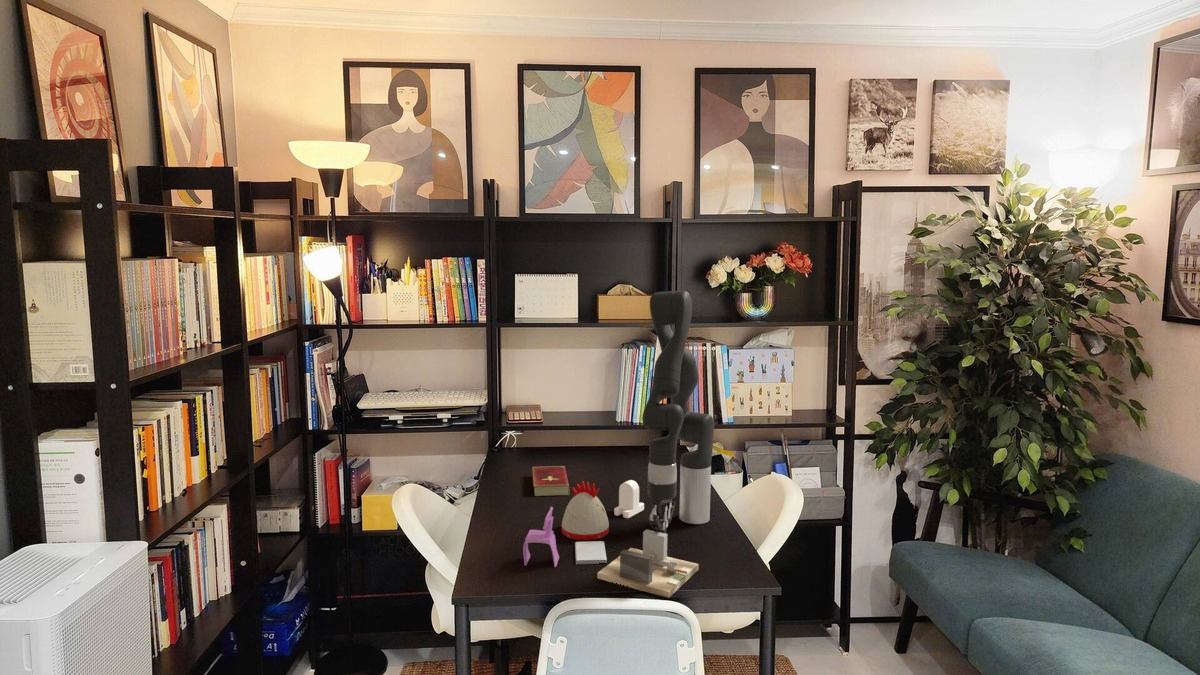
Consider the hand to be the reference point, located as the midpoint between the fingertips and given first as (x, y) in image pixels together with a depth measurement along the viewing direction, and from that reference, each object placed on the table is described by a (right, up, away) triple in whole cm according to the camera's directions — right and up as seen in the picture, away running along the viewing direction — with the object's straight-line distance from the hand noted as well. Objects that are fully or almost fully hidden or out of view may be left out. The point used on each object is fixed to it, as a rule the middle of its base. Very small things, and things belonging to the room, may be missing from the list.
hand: (661, 541), depth 199 cm
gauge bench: (-4, -7, -5) cm, 9 cm away
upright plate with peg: (-1, -5, -6) cm, 8 cm away
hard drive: (-19, -6, +7) cm, 21 cm away
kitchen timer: (-20, -3, +23) cm, 31 cm away
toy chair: (-32, -6, +2) cm, 32 cm away
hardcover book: (-33, +2, +63) cm, 71 cm away
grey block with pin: (+3, -6, -8) cm, 11 cm away
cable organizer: (-7, -1, +38) cm, 39 cm away
